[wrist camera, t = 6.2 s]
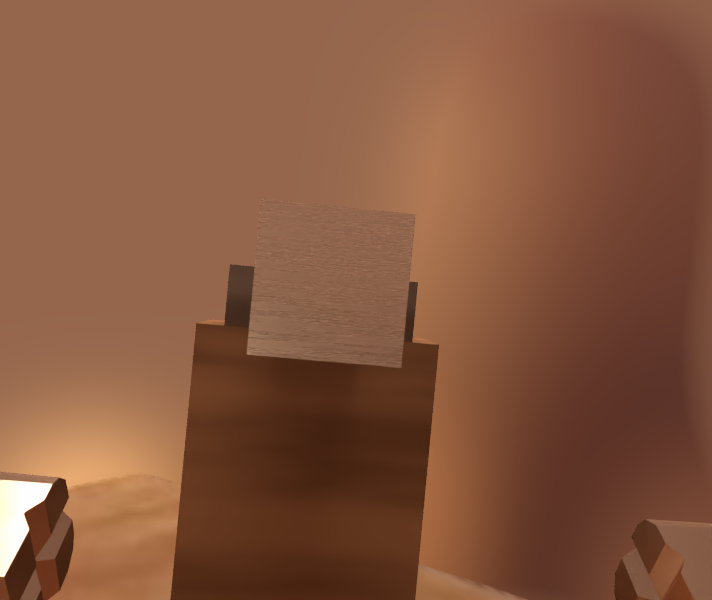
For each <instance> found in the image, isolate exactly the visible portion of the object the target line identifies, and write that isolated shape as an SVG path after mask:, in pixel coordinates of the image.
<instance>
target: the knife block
mask: <svg viewBox="0 0 712 600" xmlns="http://www.w3.org/2000/svg"><path fill="white" fill-rule="evenodd" d="M254 269H255V267H251V266H240V265H230V270H229V281H228V292H227V303H226V313H225V321H219V320H208V321H203V322H199V323H197V324H196V334H195V344H194V355H193V366H192V377H191V387H190V397H189V408H188V419H187V430H186V440H185V452H184V462H183V474H182V483H181V494H180V505H179V515H178V526H177V537H176V548H175V558H174V569H173V580H172V590H171V600H415V595H416V584H417V573H418V563H419V552H420V541H421V530H422V520H423V509H424V499H425V486H426V477H427V466H428V456H429V445H430V434H431V423H432V413H433V402H434V392H435V381H436V370H437V360H438V349H439V345H438V344H435V343H433V342H430V341H428V340H425V339H419V338H413V328H414V318H415V306H416V295H417V285H418V282H409V290H408V301H407V312H406V322H405V333H404V344H403V354H402V365H401V368H396V367H384V366H373V365H361V364H350V363H338V362H327V361H315V360H304V359H292V358H281V357H269V356H258V355H246V354H247V344H248V333H249V322H250V311H251V301H252V290H253V279H254Z"/></svg>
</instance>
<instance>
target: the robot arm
mask: <svg viewBox="0 0 712 600" xmlns="http://www.w3.org/2000/svg"><path fill="white" fill-rule="evenodd" d="M68 498H69V495H68V490H67V485H66V480H64V479H62V478H57V477H47V476H37V475H26V474H16V473H6V472H0V600H48V599H49V598H51V597H52V596H53V595H55V594H56V593H57V592H58V591H60V589H61V586H62V584H63V581H64V579H65V577H66V574H67V572H68V568H69V564H70V559H71V555H72V551H73V539H74V530H73V522H72V519H71V518H69V517H68V516H67V515H66V514H65V513H64V512H63V509H64V507H65V504H66V502H67V500H68ZM632 539H633V541H634V544H635V546H636V549H634V550H633V551H631V552H630V553H628V554H627V555H625V556H623V557H622V558H621V561H620V563H619V566H618V568H617V570H616V573H615V590H614V591H615V592H614V593H615V597H616V600H712V524H709V523H697V522H680V521H663V520H647V519H646V520H644V521H642V522H641V523H640V524H638V525H637V527H636V529H635V531H634V533H633V535H632Z"/></svg>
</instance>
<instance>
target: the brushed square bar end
mask: <svg viewBox="0 0 712 600" xmlns="http://www.w3.org/2000/svg"><path fill="white" fill-rule="evenodd" d="M414 224H415V214H405V213H394V212H386V211H376V210H366V209H356V208H346V207H337V206H327V205H318V204H308V203H298V202H288V201H278V200H268V199H261V205H260V215H259V226H258V236H257V247H256V258H255V269H254V279H253V290H252V301H251V311H250V322H249V333H248V344H247V354H246V355H258V356H269V357H281V358H292V359H304V360H315V361H327V362H338V363H350V364H361V365H373V366H384V367H396V368H401V365H402V354H403V344H404V333H405V322H406V312H407V301H408V290H409V279H410V269H411V258H412V247H413V237H414V226H415V225H414Z"/></svg>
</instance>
